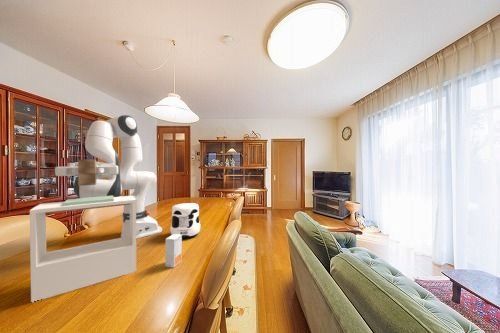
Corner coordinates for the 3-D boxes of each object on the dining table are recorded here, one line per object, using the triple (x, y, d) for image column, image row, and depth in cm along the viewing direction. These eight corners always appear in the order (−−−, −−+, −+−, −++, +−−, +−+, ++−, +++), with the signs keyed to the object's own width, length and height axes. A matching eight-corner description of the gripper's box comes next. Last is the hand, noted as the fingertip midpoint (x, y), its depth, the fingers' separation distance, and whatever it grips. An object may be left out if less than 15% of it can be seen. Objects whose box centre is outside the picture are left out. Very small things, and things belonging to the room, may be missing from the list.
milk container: (190, 228, 127) (190, 201, 127) (206, 234, 116) (205, 205, 116) (165, 235, 113) (164, 206, 113) (180, 243, 102) (180, 210, 102)
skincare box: (174, 268, 78) (174, 239, 78) (165, 266, 79) (165, 238, 79) (182, 260, 84) (182, 234, 84) (173, 259, 85) (173, 233, 85)
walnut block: (96, 183, 78) (96, 160, 78) (95, 184, 74) (94, 159, 74) (80, 184, 75) (79, 159, 75) (78, 185, 71) (77, 159, 71)
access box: (133, 259, 85) (132, 193, 85) (136, 271, 76) (135, 197, 75) (41, 283, 68) (40, 200, 68) (31, 302, 59) (29, 207, 58)
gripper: (59, 163, 79) (49, 163, 68) (118, 163, 91) (118, 162, 80) (59, 178, 79) (49, 180, 68) (118, 176, 91) (118, 177, 80)
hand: (87, 170), depth 74 cm, fingers closed on walnut block, 5 cm apart
